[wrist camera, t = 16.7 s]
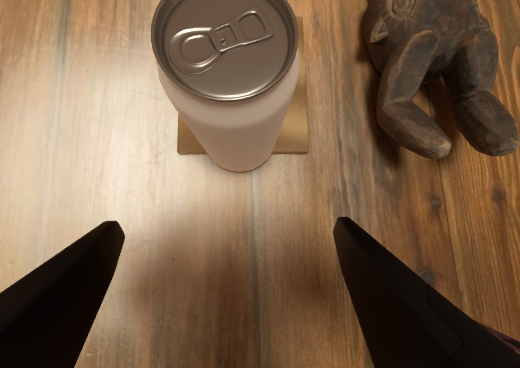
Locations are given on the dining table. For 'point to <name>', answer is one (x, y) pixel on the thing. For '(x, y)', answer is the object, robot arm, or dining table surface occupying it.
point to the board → (292, 129)
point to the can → (228, 72)
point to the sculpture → (438, 74)
